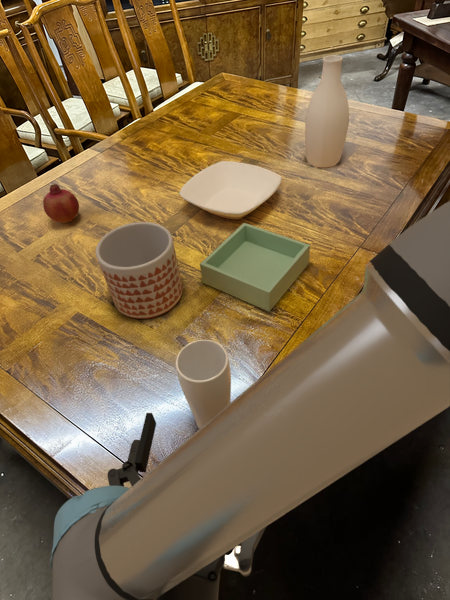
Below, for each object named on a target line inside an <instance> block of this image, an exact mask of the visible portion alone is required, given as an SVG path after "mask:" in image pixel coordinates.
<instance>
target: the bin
mask: <svg viewBox="0 0 450 600" xmlns="http://www.w3.org/2000/svg"><path fill="white" fill-rule="evenodd" d="M310 252H311V244H309V243H307V242H303V241H300V240H297V239H294V238H291V237H288V236H285V235H282V234H279V233H276V232H273V231H270V230H267V229H264V228H261V227H258V226H255V225H252V224H249V223H247V222H243V223H241V225H240V226H239V227H238V228H236V230H234V232H232V233H231V234H230V235H229V236H228V237H227V238H226V239H225V240H224V241H223V242H221V244H220V245H218V246H217V247H216V248H214V250H213V251H212V252H211V253H210V254H209V255H207V256H206V257H205V258H204V259H203V260H202V261H201V262H200V263H199V268H200V274H201V281H202V283H203V284H204V285H206V286H209V287H211V288H214V289H215V290H219V291H221V292H223V293H225V294H227V295H230V296H232V297H234V298H237V299H240V300H242V301H244V302H246V303H248V304H251V305H252V306H255V307H258V308H260V309H262V310H264V311H266V312H271V310H272V309H274V307H275V306H276V305H277V303H278V302H279V301H280V300H281V299H282V297H283V296H284V295H285V294H286V293H287V291H288V290H289V289H290V288H291V287H292V285H293V284H294V283H295V281H296V280H297V279H298V278H299V277H300V276H301V274H302V273H303V272H304V271H305V269H306V268H307V267H308V266H309V265H310V254H311V253H310Z"/></svg>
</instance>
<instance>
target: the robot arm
mask: <svg viewBox="0 0 450 600" xmlns="http://www.w3.org/2000/svg"><path fill="white" fill-rule="evenodd" d="M364 268H365V269H364V281H363V288H362V290H361V292H359V294H357V295H355V297H353V298H352V299H351V300H350V301H349V302H347V304H345V305H344V306H343V307H342V308H341V309H340V310H338V311H337V312H336V313H335V314H333V315H332V316H331V317H330V318H328V320H327V321H325V322H324V323H323V324H322V325H320V326H319V327H318V328H317V329H316V330H314V331H313V332H312V333H311V334H310V335H309V336H308V337H306V338H305V339H304V340H303V341H302V342H300V343H299V344H298V345H297V346H296V347H294V349H292V350H291V351H290V352H289V353H288V354H286V355H285V356H284V357H283V358H282V359H280V360H279V361H278V362H277V363H276V364H275V365H273V367H270V369H269V370H268V371H266V372H265V373H264V374H263V375H262V376H260V378H258V379H257V380H256V381H254V383H252V384H251V385H250V386H249V387H248V388H246V389H245V390H244V391H243V392H242V393H240V394H239V395H238V396H237V397H236V398H234V399H233V400H232V401H230V404H229V405H228V406H226V407H225V408H224V409H223V410H222V411H221V412H219V413H218V414H217V415H216V416H215V417H214V418H212V419H211V420H210V421H209V422H208V423H206V424H205V425H204V426H203V427H202V428H201V429H199V428H198V430H197V431H196V432H194V433H193V434H192V435H191V436H190V437H189V438H187V439H186V440H185V441H184V442H182V443H181V444H180V445H179V446H177V448H176V449H174V450H173V451H172V452H171V453H170V454H168V455H167V456H166V457H165V458H164V459H163V460H161V461H160V462H159V463H158V464H157V465H156V466H155V467H153V468H152V469H151V470H150V471H148V472H147V468H148V463H149V457H150V454H151V450H152V446H153V440H154V437H155V431H156V427H157V421H156V419H155V416H154V414H153V412H146V413H145V418H144V422H143V425H142V428H141V429H142V430H141V434H140V439H133V440H132V442H131V445H130V449H129V453H128V456H127V460H126V461H124V462H123V463H122V465H121V467H119V468H117V469H116V468H113V467H112V468H110V469H109V470H108V471H107V480H108V485H104V486H98V487H94V488H90V489H88V490H86V491H85V492H84V493H82V494H80V495H74V496H73V497H71V498H69V499H68V500H67V501H65V502H64V503H63V504H62V505H61V507H60V508H59V509H58V511H57V513H56V515H55V518H54V523H53V540H52V549H51V555H50V560H49V561H50V567H51V568H50V569H51V571H52V600H219V589H220V580H221V576H222V573H223V571H224V570H229V571H234V572H239V573H240V575H241V576H243V577H248V576H250V574H251V572H252V567H253V559H254V553H255V551H256V549H257V547H258V545H259V542H260V541H261V539H262V537H263V534H264V532H265V530H266V529H267V527H268V526H269V525H271V524H272V523H274V522H275V521H277V520H278V519H280V518H282V517H283V516H285V515H286V514H287V513H289V512H290V511H292V510H294V509H296V508H297V507H298V506H300V505H301V504H303V503H305V502H306V501H308V500H309V499H310V498H312V497H313V496H315V495H316V494H318V493H320V492H321V491H322V490H324V489H326V488H327V487H329V486H331V484H333V483H335V482H336V481H338V480H339V479H341V478H343V477H344V476H346V475H347V474H349V473H350V472H352V471H353V470H355V469H356V468H358V467H359V466H361V465H362V464H364V463H365V462H367V461H368V460H370V459H372V458H373V457H374V456H376V455H378V454H379V453H380V452H382V451H384V450H385V449H386V448H389V446H391V445H393V444H394V443H396V442H398V441H399V440H401V439H402V438H403V437H405V436H407V435H408V434H410V433H411V432H412V431H414V430H416V429H418V428H419V427H420V426H422V425H423V424H425V423H426V422H428V421H429V420H431V419H432V418H434V417H436V416H437V415H439V414H440V413H442V412H443V411H444V410H446V409H448V408H449V407H450V200H449V201H447V202H445V203H442V204H441V206H439V207H437V208H436V209H434V210H432V211H431V212H430V213H428V214H427V215H425V216H424V217H422V218H420V219H419V220H418V221H416V222H415V223H413V224H412V225H411V226H409V227H408V228H406V229H404V231H403V232H402V233H400V234H398V236H397V237H395V238H394V239H393V240H392V241H390V242H389V243H388V244H387V245H386V246H385V247H384V248H383V249H381V251H380V252H378V253H377V254H375V256H373V257H372V258H371V259H370V260H369V261H367V263H366V264H365V266H364ZM146 472H147V473H146ZM139 473H146V474H145V475H144V476H142V478H141V476H140V475H139ZM125 483H130V485H131V487H127V486H125ZM231 550H232V552H231V553H230V554H226V553H228V552H229V551H231Z"/></svg>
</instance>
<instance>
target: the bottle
mask: <svg viewBox="0 0 450 600" xmlns="http://www.w3.org/2000/svg"><path fill="white" fill-rule="evenodd" d="M343 60H344V59H343V56H341V55H338V54H337V55H336V54H331V55H326V56H324V57H323V58H322V70H321V77H320V81H319V83H318V84H317V86H316V88H315V90H314V91H313V93H312V94H311V97H310V100H309V102H308V106H307V108H306V114H305V118H304V121H305V122H304V145H305V147H304V148H305V158H306V161H307V163H308V164H309V165H311V166H312V167H315V168H324V169H325V168H331V167H335V166H336V165H337V164H338V163H340V161H341V158H342V155H343V151H344V148H345V145H346V141H347V140H346V139H347V135H348V129H349V123H350V107H349V101H348V95H347V94H348V93H347V92H346V90H345V87H344V85H343V82H342V79H341V76H342V63H343V62H342V61H343Z"/></svg>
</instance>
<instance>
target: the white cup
mask: <svg viewBox="0 0 450 600" xmlns="http://www.w3.org/2000/svg"><path fill="white" fill-rule="evenodd" d="M175 368H176V375H177V378H178V382H179V385H180V388H181V391H182V393H183V395H184V398H185V400H186V402H187V404H188V407H189V408H190V411H191V413H192V415H193V418H194V421H195V424H196V427H197V429H198V430H199V429H201V428H202V427H203V426H204V425H205V424H206V423H208V422H209V421H210V420H211V419H212V418H214V417H215V416H216V415H217V414H218V413H219V412H221V411H222V410H223V409H224V408H225V407H226V406H228V405H229V404H230V403H231V397H232V396H231V395H232V372H231V363H230V359H229V355H228V351H227V349H226V348H225V347H224V346H223V345H222V344H220V343H219V342H218V341H215V340H211V339H197V340H194V341H191V342H189V343H187V344H186V345H184V346H183V347H182V348H181V349H180V350H179V352H178V353H177V356H176V358H175Z"/></svg>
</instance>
